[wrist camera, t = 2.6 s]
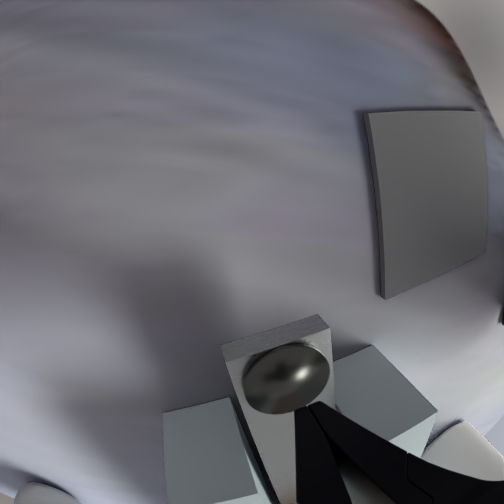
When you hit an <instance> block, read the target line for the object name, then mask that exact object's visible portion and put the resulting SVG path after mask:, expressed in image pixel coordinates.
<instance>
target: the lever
mask: <svg viewBox="0 0 504 504" xmlns="http://www.w3.org/2000/svg"><path fill="white" fill-rule="evenodd" d="M221 349H222V352H223V356H224V360H225V363H226V366H227V369H228V372H229V375H230V378H231V380H232V383H233V386H234V389H235V392H236V394H237V397H238V400H239V402H240V405H241V408H242V410H243V413H244V416H245V418H246V421H247V424H248V426H249V429H250V431H251V434H252V437H253V439H254V442H255V444H256V447H257V449H258V452H259V454H260V457H261V459H262V461H263V464H264V466H265V469H266V471H267V473H268V476H269V478H270V481H271V483H272V485H273V488H274V490H275V492H276V494H277V497H278V499H279V501H280V504H296V465H295V425H294V410H295V409H298V408H300V407H303V406H307V407H308V405H309V404H311V403H314V402H316V401H322V402H324V403H325V404H327V405H328V406H330V407H332V408H333V409H335V390H334V373H333V359H332V345H331V333H330V327H329V326H328V325H327V324H326V323H325V322H324V321H323V319H322V318H321V317H320V316H319V315H318V314H316V315H313V316H310V317H307V318H304V319H301V320H299V321H296V322H293V323H290V324H287V325H284V326H280V327H277V328H274V329H271V330H268V331H265V332H262V333H258V334H255V335H252V336H249V337H245V338H242V339H239V340H235V341H232V342H228V343H225V344H221Z"/></svg>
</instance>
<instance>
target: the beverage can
mask: <svg viewBox="0 0 504 504" xmlns="http://www.w3.org/2000/svg"><path fill="white" fill-rule="evenodd" d="M421 459H423V460H425V461H427V462H430V463H432V464H434V465H437V466H440V467H442V468H445V469H448V470H451V471H454V472H457V473H461V474H464V475H467V476H471V477H474V478H478V479H482V480H489V481H500V480H504V457H503V456H502V455H501V454H500V453H499V452H498V451H497V450H496V449H495V448H494V447H493V446H492V445H491V444H490V443H489V442H488V441H487V440H486V439H485V438H484V437H483V436H482V435H481V434H480V433H479V432H478V431H477V430H476V429H475V428H474V427H473V426H472V425H471V424H470V423H469V422H468V421H464V422H461V423H459V424H457V425H454V426H452V427H450V428H449V429H447V430H446V431H445V432H443V433H442V434H441V435H440V436H438V437H437V438H436V439H435V440H434V441H433V442H432V443H431V444H430V445H429V446H428V447H427V448H426V449H425V451H424V452H423V453H422V455H421Z"/></svg>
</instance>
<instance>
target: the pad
mask: <svg viewBox="0 0 504 504" xmlns="http://www.w3.org/2000/svg"><path fill="white" fill-rule="evenodd" d="M363 116H364V121H365V126H366V132H367V138H368V144H369V151H370V158H371V165H372V172H373V180H374V189H375V198H376V209H377V220H378V233H379V250H380V273H381V297H382V298H383V299H385V300H386V299H388V298H391V297H393V296H395V295H398V294H400V293H402V292H405V291H407V290H409V289H411V288H414V287H416V286H418V285H420V284H422V283H425V282H427V281H429V280H431V279H433V278H435V277H437V276H440V275H442V274H444V273H446V272H448V271H450V270H452V269H454V268H456V267H458V266H460V265H462V264H464V263H466V262H468V261H470V260H472V259H474V258H476V257H478V256H479V255H481V254H483V253H485V252H486V241H487V221H488V179H487V160H486V147H485V137H484V128H483V120H482V113H481V112H478V111H396V112H378V113H366V114H363Z"/></svg>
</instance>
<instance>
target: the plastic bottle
mask: <svg viewBox="0 0 504 504" xmlns="http://www.w3.org/2000/svg"><path fill="white" fill-rule="evenodd" d="M14 504H81V503H80V502H79V501H78V500H76V499H75V498H74V497H72V496H70V495H68V494H67V493H65V492H63V491H60V490H58V489H56V488H53V487H51V486H48V485H44V484H41V483H35V482H30V483H27V484H25V485H23V486H22V487H20V488H19V490H18V492H17V494H16V496H15V499H14Z"/></svg>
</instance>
